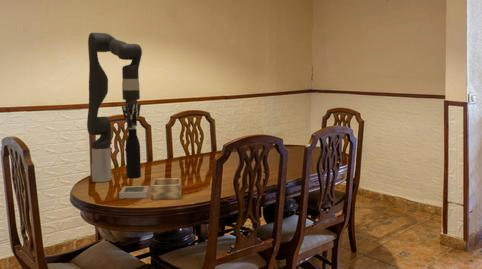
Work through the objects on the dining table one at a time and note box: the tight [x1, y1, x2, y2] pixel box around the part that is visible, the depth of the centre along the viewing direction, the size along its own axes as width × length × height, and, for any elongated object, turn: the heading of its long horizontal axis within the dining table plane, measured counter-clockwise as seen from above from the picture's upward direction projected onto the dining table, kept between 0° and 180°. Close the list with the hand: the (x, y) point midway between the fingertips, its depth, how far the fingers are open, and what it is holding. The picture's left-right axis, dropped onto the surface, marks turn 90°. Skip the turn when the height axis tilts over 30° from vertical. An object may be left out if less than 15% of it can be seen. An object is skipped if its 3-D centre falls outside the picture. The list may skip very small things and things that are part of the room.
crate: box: [150, 177, 182, 201], centre depth 216 cm, size 13×13×6 cm
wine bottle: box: [125, 112, 142, 179], centre depth 215 cm, size 6×6×30 cm
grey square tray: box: [118, 185, 150, 200], centre depth 218 cm, size 12×12×2 cm
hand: (132, 126), depth 214 cm, fingers closed on wine bottle, 4 cm apart
